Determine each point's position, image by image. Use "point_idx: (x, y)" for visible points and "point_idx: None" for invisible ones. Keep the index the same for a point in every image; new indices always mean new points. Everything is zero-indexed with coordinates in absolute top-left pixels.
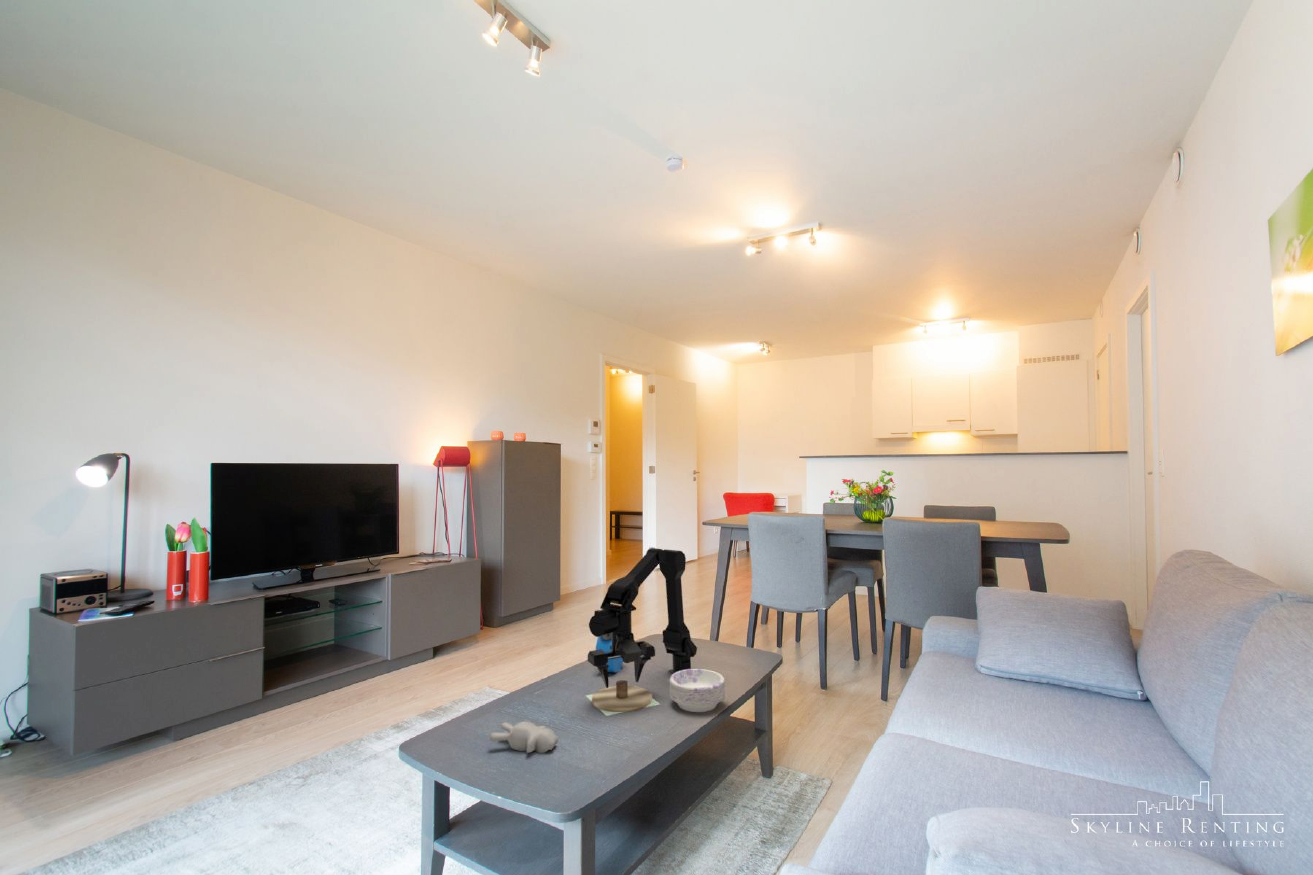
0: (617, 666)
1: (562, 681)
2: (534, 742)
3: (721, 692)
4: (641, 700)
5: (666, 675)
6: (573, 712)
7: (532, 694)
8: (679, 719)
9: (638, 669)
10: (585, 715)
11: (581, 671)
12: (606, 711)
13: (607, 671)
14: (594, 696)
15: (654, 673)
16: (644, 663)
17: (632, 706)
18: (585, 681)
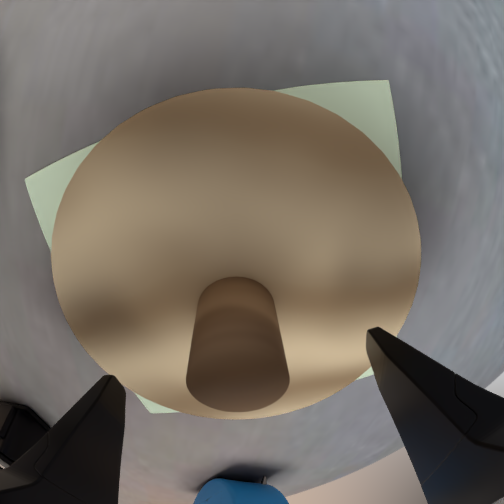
0: (214, 493)
1: (383, 447)
2: None
3: None
4: (109, 214)
5: None
6: (483, 222)
7: (482, 378)
8: (4, 16)
9: (69, 449)
10: (460, 166)
11: (310, 482)
12: (375, 141)
13: (466, 426)
14: None
15: None
16: (7, 469)
17: (189, 113)
18: (326, 453)
